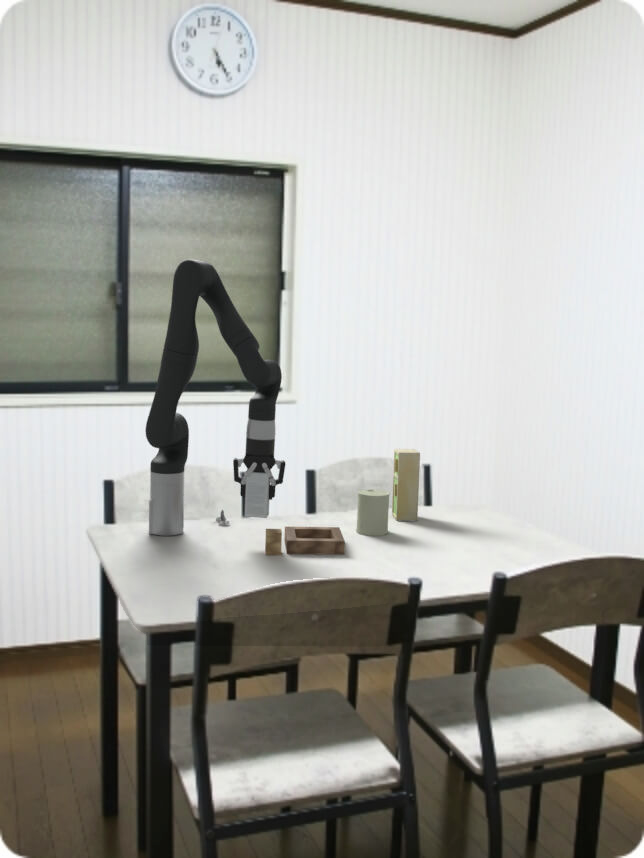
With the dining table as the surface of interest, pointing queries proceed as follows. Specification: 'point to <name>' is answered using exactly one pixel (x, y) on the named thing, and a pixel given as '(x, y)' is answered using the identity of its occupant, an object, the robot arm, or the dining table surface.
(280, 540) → the short oak peg
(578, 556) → the dining table surface
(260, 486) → the skincare box
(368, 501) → the can
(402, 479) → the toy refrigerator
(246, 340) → the robot arm
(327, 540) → the brown wooden square frame
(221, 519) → the grey spired figurine
